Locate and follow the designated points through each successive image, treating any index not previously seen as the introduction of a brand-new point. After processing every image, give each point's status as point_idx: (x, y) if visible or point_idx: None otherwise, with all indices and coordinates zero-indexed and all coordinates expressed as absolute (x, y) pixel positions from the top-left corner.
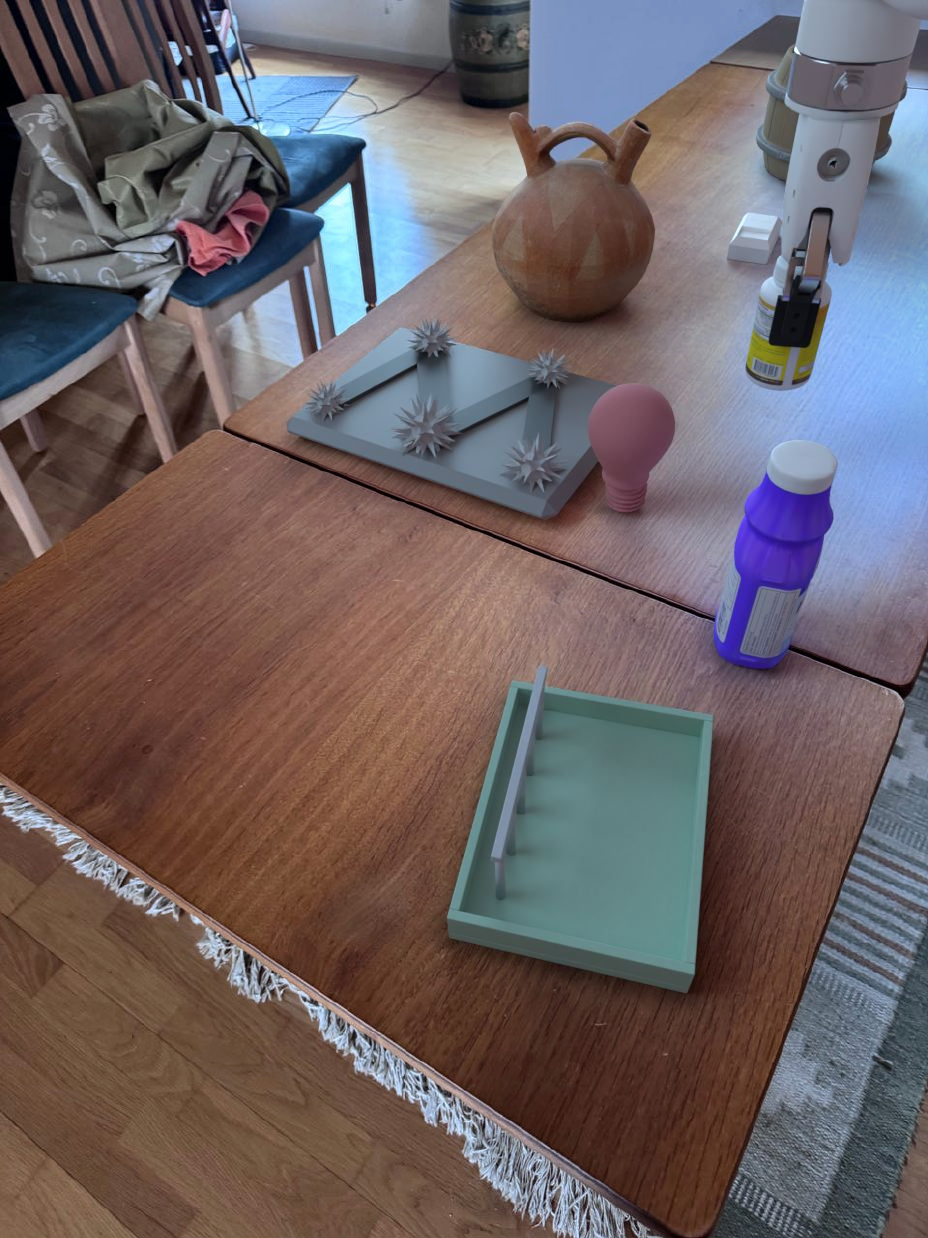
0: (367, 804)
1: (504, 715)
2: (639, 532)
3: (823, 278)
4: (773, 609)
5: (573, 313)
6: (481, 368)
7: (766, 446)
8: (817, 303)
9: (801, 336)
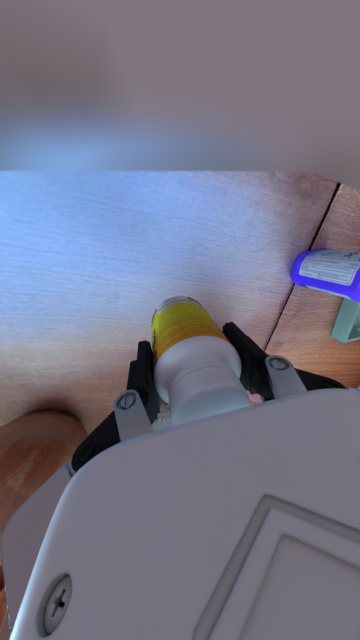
0: (357, 352)
1: (357, 339)
2: (243, 329)
3: (302, 385)
4: None
5: (80, 424)
6: (162, 428)
7: (152, 291)
8: (279, 356)
9: (248, 337)
